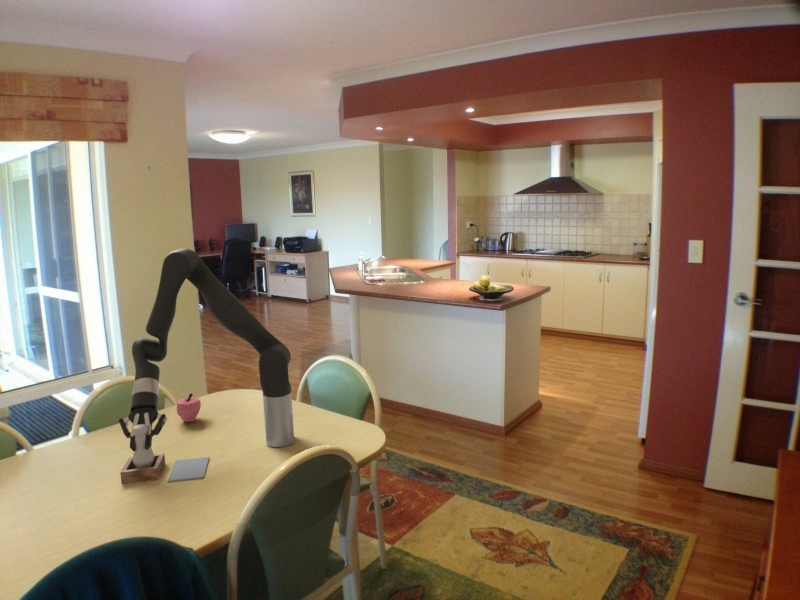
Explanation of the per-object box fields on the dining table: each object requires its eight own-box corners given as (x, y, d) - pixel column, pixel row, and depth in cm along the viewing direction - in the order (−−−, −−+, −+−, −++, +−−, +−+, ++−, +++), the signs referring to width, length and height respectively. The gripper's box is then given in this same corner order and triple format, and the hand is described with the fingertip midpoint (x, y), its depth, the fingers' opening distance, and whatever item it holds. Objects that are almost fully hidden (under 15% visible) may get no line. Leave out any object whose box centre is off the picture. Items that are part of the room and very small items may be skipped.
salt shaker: (146, 471, 160) (141, 430, 158) (129, 470, 161) (124, 429, 159) (159, 462, 166) (154, 422, 163) (142, 461, 167) (137, 421, 165)
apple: (178, 417, 206) (175, 392, 204) (202, 414, 208) (200, 389, 207) (176, 427, 197) (173, 401, 195) (201, 424, 199) (199, 398, 198)
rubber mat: (209, 458, 173) (209, 456, 173) (203, 478, 160) (203, 476, 160) (175, 461, 171) (175, 460, 171) (167, 482, 158) (167, 481, 158)
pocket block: (165, 463, 170) (164, 453, 169) (158, 479, 160) (157, 468, 159) (130, 467, 168) (129, 456, 167) (121, 483, 158) (120, 472, 157)
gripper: (117, 392, 165) (110, 448, 156) (166, 388, 168) (162, 442, 159) (124, 403, 172) (118, 456, 162) (171, 398, 174) (168, 450, 165)
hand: (140, 449), depth 160 cm, fingers closed on salt shaker, 3 cm apart
